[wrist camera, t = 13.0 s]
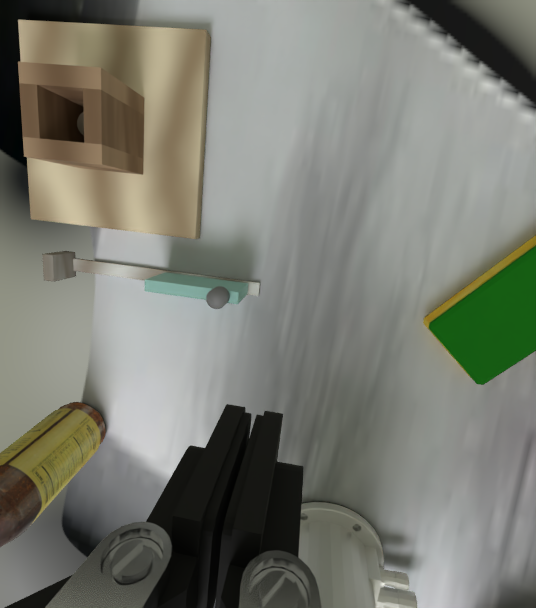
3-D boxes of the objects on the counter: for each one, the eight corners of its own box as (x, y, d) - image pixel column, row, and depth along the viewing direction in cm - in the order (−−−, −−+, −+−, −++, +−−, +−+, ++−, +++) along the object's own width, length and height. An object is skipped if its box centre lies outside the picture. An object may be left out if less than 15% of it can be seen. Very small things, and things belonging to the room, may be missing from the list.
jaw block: (144, 98, 29) (100, 67, 23) (143, 174, 30) (102, 164, 24) (77, 92, 29) (18, 61, 24) (79, 168, 31) (24, 156, 25)
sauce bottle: (56, 439, 40) (-183, 642, 21) (59, 392, 38) (-197, 565, 19) (109, 455, 39) (-86, 678, 20) (115, 408, 38) (-92, 602, 19)
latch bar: (248, 280, 32) (235, 291, 27) (247, 297, 32) (233, 311, 27) (165, 269, 33) (137, 278, 28) (164, 285, 33) (137, 297, 28)
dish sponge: (616, 277, 28) (643, 282, 26) (468, 375, 32) (480, 387, 30) (564, 211, 28) (587, 210, 26) (419, 318, 31) (427, 327, 29)
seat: (284, 41, 27) (278, 11, 23) (258, 301, 33) (249, 313, 29) (29, 27, 30) (-16, -3, 26) (43, 271, 35) (8, 278, 31)
